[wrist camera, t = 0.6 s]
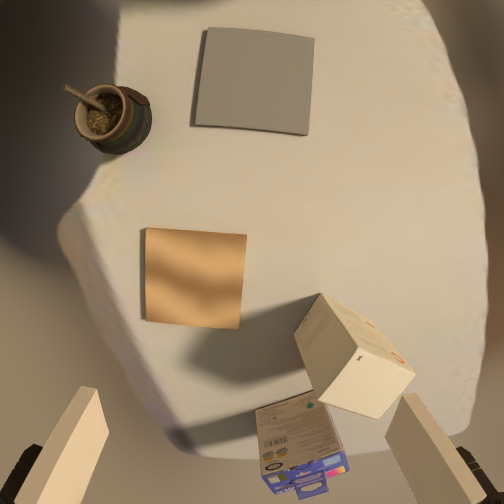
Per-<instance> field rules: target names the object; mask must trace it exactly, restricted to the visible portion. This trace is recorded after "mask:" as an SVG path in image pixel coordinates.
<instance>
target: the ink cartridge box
mask: <svg viewBox="0 0 504 504" xmlns="http://www.w3.org/2000/svg"><path fill="white" fill-rule="evenodd" d="M255 416H256V426H257V436H258V444H259V456H260V466H261V476H262V479H263V480H264V481H265V482H266V483H267V485H268V486H269V488H270V489H271V490H272V492H273V493H274V494H280V493H283V492H287V491H290V490H294V489H295V490H296V493H297V495H298V498H299V500H301V499H304V498H308V497H311V496H315V495H318V494H322V493H325V492H328V491H329V490H328V486H327V482H326V479H328V478H331V477H334V476H336V475H339V474H342V473H345V472H347V471H349V466H348V462H347V458H346V455H345V452H344V449H343V446H342V443H341V441H340V438H339V435H338V433H337V430H336V428H335V425H334V423H333V420H332V418H331V415H330V413H329V410H328V407H327V405H326V403H323V402H320V401H318V400H317V398H316V395H315V392H314V391H311V392H308V393H306V394H303V395H300V396H297V397H295V398H292V399H289V400H286V401H283V402H280V403H277V404H273V405H270V406H267V407H264V408H261V409H257V410H255ZM318 482H321V483H322V486H321V487H319V488H317V489H315V490H313V491H304V492H303V491H301V488H302V487H304V486H308V485H311V484H315V483H318Z"/></svg>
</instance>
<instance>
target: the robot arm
mask: <svg viewBox="0 0 504 504" xmlns="http://www.w3.org/2000/svg"><path fill="white" fill-rule="evenodd" d="M108 434H109V431H108V428H107V425H106V421H105V418H104V414H103V411H102V407H101V403H100V400H99V396H98V392H97V389H94V388H89V387H84V386H81V387H80V389H79V390H78V392H77V393H76V395H75V396H74V398H73V400H72V401H71V403H70V404H69V406H68V408H67V409H66V411H65V413H64V414H63V416H62V417H61V419H60V421H59V422H58V424H57V426H56V427H55V429H54V431H53V432H52V434H51V436H50V437H49V439H48V441H47V442H46V444H45V446H44V447H41V446H39V445H36V444H33V445H32V446H30V447H29V448H27V449H26V450H25V451H24V452H23V454H22V455H21V457H20V459H19V462H17V464H16V466H15V469H13V470H12V472H11V474H10V475H9V477H8V479H7V481H6V482H5V484H4V486H3V488H2V490H1V491H0V504H81V501H82V498H83V496H84V493H85V491H86V488H87V486H88V483H89V480H90V478H91V475H92V473H93V470H94V468H95V465H96V463H97V460H98V458H99V455H100V453H101V451H102V448H103V446H104V443H105V441H106V439H107V436H108ZM385 438H386V440H387V442H388V444H389V446H390V448H391V450H392V452H393V454H394V456H395V458H396V460H397V462H398V464H399V466H400V468H401V470H402V472H403V474H404V476H405V478H406V480H407V482H408V484H409V486H410V488H411V490H412V492H413V494H414V496H415V498H416V500H417V502H418V504H504V492H498V491H497V490H496V489H495V488H494V486H493V485H492V483H491V482H490V480H489V479H488V477H487V476H486V474H485V473H484V472H483V470H482V469H480V466H479V464H478V463H477V462H475V459H474V457H473V456H472V455H471V453H470V452H469V451H467V450H466V449H464V448H463V447H461V446H460V447H458V448H455V447H454V446H453V444H452V443H451V441H450V440H449V439H448V437H447V436H446V434H445V433H444V431H443V430H442V429H441V427H440V426H439V424H438V423H437V422H436V420H435V419H434V417H433V416H432V415H431V413H430V412H429V410H428V409H427V408H426V406H425V405H424V404H423V402H422V401H421V399H420V398H419V397H418V395H417V394H416V393H414V394H407V395H402V397H401V400H400V402H399V405H398V407H397V410H396V412H395V414H394V417H393V419H392V422H391V424H390V426H389V428H388V431H387V433H386V435H385Z"/></svg>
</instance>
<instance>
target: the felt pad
mask: <svg viewBox="0 0 504 504" xmlns="http://www.w3.org/2000/svg"><path fill="white" fill-rule="evenodd" d="M313 57H314V38H309V37H303V36H297V35H291V34H284V33H276V32H268V31H259V30H248V29H235V28H214V27H208V31H207V38H206V44H205V51H204V57H203V64H202V71H201V79H200V86H199V94H198V102H197V111H196V120H195V125H203V126H220V127H234V128H246V129H257V130H266V131H275V132H284V133H292V134H299V135H306V136H307V135H308V130H309V117H310V104H311V90H312V74H313Z"/></svg>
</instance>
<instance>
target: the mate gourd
mask: <svg viewBox="0 0 504 504" xmlns="http://www.w3.org/2000/svg"><path fill="white" fill-rule="evenodd" d="M62 90H64V91H67V92H68V93H70V94H72V95H74V96H76V97H78V98H80V100H79V102H78V104H77V106H76V109H75V113H74V114H75V115H74V122H75V126H76V128H77V131H78V132H79V134H80V136H81V137H85V138H86V139H87V141H88V140H89V141H90V143H91V144H92V145H93V146H94V147H96V148H97V149H99V150H100V151H101V152H103V153H109V154H122V153H127V152H128V151H131V150H134V149H135V148H137V147H138V146H139V145H140V144H141V143H142V142H143V141H144V140H145V139H146V137H147V136H148V134H149V132H150V129H151V125H152V114H151V109H150V102H149V101H148V99H147V97H145V96H144V95H142V94H141V93H139V92H137V91H135V90H133V89H131V88H129V87H123V86H116V85H113V84H99V85H96V86H94V87H92V88H91V89H89V90H88V91H87V92H86V93H85V94H82V93H81V92H79V91H77V90H76V89H75V88H72V87H71V86H69V85H67V84H66V83H65V84H64V86H63V88H62Z"/></svg>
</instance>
